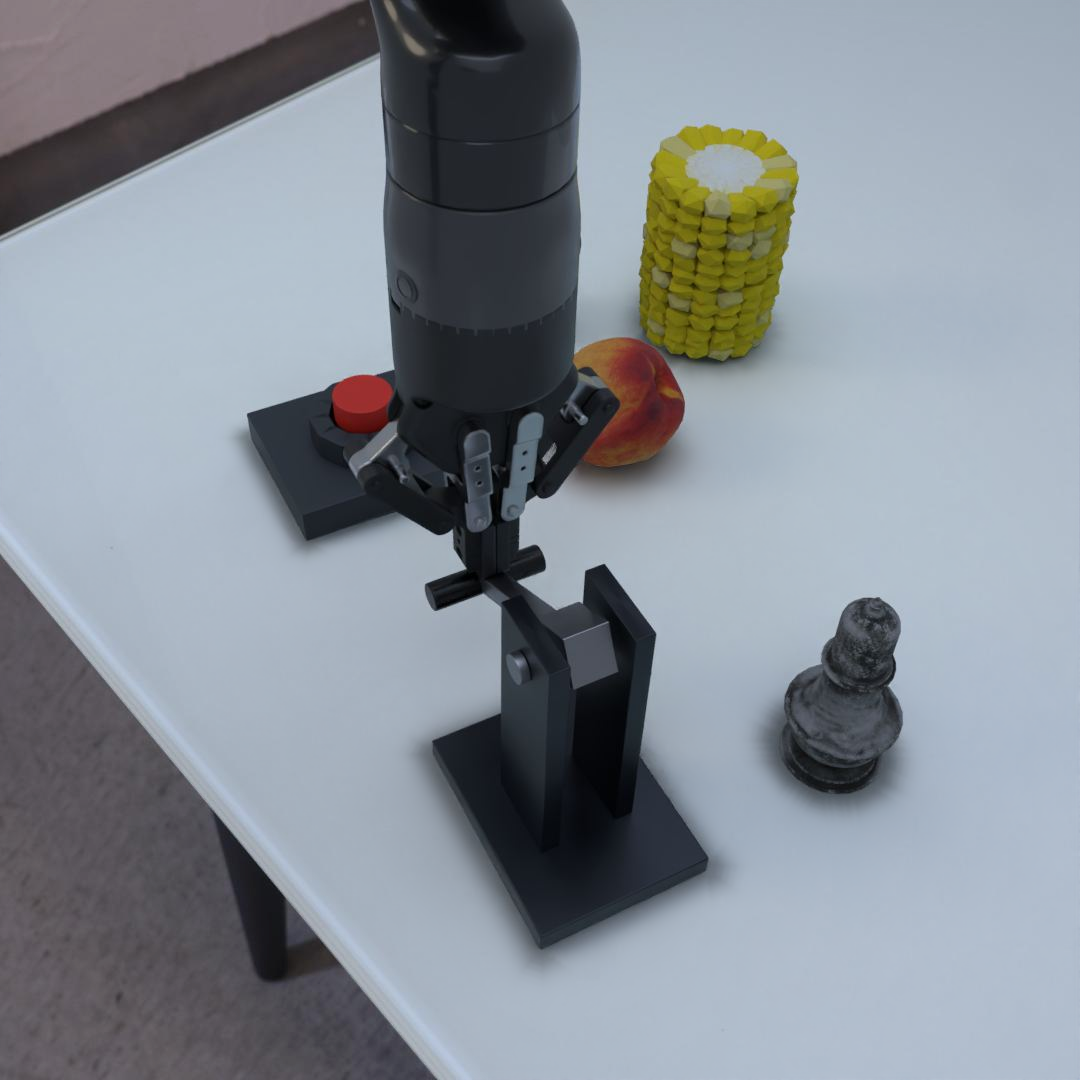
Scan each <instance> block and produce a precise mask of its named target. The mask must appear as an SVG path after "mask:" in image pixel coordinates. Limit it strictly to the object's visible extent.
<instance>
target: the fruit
mask: <svg viewBox="0 0 1080 1080" xmlns="http://www.w3.org/2000/svg"><path fill="white" fill-rule="evenodd" d="M573 363H574V364H575V366H576V368H577V370H579V369H580V368H582V367H591V368H592V369H593V370H594V371H595V372H596V373H597V375H598V376H599V377H600V378H601V379H602V380H603V382H604V383H605V384H606V385H607V386H608V388H609V389H610V390H611V391H612V392H613V393H614V395H615V396H616V397H617V398H618V399H619V401H620V407H619V410H618V411H617V412H616V414H615V415H614V416H613V418H612V419H611V420H610V422H609V423H608V424H607V426H606V427H605V428H604V430H603V431H602V432H601V434H600V435H599V436H598V438H597V439H596V440H595V442H594V443H593V444H592V446H591V447H590V448H589V450H588V451H587V452H586V453H585V455H584V456H583V457H582V459H581V460H583V461H584V462H585V463H588V464H591V465H593V466H596V467H605V468H608V467H619V466H626V465H630V464H637V463H641V462H644V461H646V460H648V459H650V458H651V457H653V456H654V455H656V454H658V453H659V452H660V451H661V450H662V449H663V448H664V447H665V446H666V445H667V444H668V442H669V441H670V440H671V439H672V438H673V437H674V435H675V434H676V432H677V431H678V430H679V428H680V426H681V424H682V423H683V421H684V416H685V411H686V401H685V396H684V394H683V393H684V392H682V389H681V387H680V384H679V383H678V381H677V379H676V377H675V375H674V373H673V371H672V369H671V367H670V366H669V365H668V363H667V361H666V360H665V358H664V356H663V355H662V354H661V353H660V352H659V351H658V349H656V348H655V347H654V346H653V345H650V344H648V343H647V342H645V341H642V340H640V339H638V338H634V337H630V336H629V337H628V336H623V337H622V336H616V337H610V338H605V339H601V340H597V341H594V342H592V343H590V344H588V345H586V346H584V347H583V348H581V349H579V350H578V351H577V352H576V353H574V359H573Z"/></svg>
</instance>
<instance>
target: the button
mask: <svg viewBox="0 0 1080 1080" xmlns="http://www.w3.org/2000/svg"><path fill="white" fill-rule="evenodd" d="M340 381H341V382H340ZM340 381H338V382H339V383H338V384H337V385H336V387H335V388H334V390H333V393H332V399H333V408H334V416H335V421H336V423H337V424H338V425H339V427H341V428H342V429H343V430H345V431H347V432H349V433H358V434H371V433H374V432H377V431H380V430H382V429H383V428H384V427H385V426H386V425H387V424H388V423H389V421H388V418H387V405H388V402H389V400H390V398H391V396H392V394H393V392H392V388H391V386H390V385H389V383H388V382H386V381H385V380H384V379H382V378H380V377H377V376H374V375H373V374H355V375H350V376H348V377H346V378H344V379H342V380H340Z"/></svg>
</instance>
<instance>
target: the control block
mask: <svg viewBox="0 0 1080 1080" xmlns="http://www.w3.org/2000/svg"><path fill="white" fill-rule="evenodd" d="M373 376H377V377H380V378H382V379H384V380H385V381H386V382H388V383H389V385H390V386H391V388H392V392H394V389H395V385H396V377H395V370H394V369H390V370H387V371H384V372H381V373H378V374H374V375H373ZM341 381H342V380H340V381H337V382H334V383H331V384H329V386H327V387H326V388H325V389H324V390H320V391H317V392H314V393H311V394H307V395H303V396H299V397H296V398H293V399H291V400H290V399H289V400H287V401H284V402H279V403H276V404H274V405H270V406H267V407H263V408H260V409H256V410H253V411H250V412H247V413H246V417H247V424H248V429H249V434H250V439H251V441H252V443H253V445H254V447H255V449H256V450H257V452H258V454H259V456H260V458H261V459H262V461H263V463H264V465H265V466H266V469H267V471H268V472H269V475H270V476H271V478H272V480H273V482H274V484H275V486H276V488H277V489H278V491H279V493H280V495H281V497H282V498H283V501H284V502H285V505H286V506H287V507H288V509H289V512H290V513H291V515H292V517H293V518H294V521H295V523H296V525H297V526H298V528H299V530H300V531H301V534H302V535H303V537H304V539H305V540H306V541H309V540H313V539H316V538H319V537H322V536H324V535H327V534H331V533H333V532H336V531H340V530H342V529H345V528H348V527H352V526H355V525H357V524H360V523H363V522H366V521H369V520H372V519H375V518H377V517H381V516H384V515H387V514H391V513H393V512H396V511H395V510H393V509H391V508H389V507H388V506H386V505H384V504H383V503H381V502H379V501H378V500H376V499H374V498H373V497H371V496H369V495H367V494H366V493H365V491H364V489H363V488H362V486H361V484H360V483H359V481H358V480H357V478H356V477H355V475H354V473H353V472H352V470H351V468H350V467H349V465H348V463H347V461H346V460H345V458H344V456H343V450H344V448H345V446H346V445H347V444H348V443H349V442H351V441H352V440H355V439H364V440H366V441H368V442H370V441H371V440H372V439H373V438H374V437H375V436H376V435H377V434H378V433H379V432H380V431H381V430H380V431H377V432H374V433H371V434H358V433H349V432H347V431H345V430H343V429H342V428H341V427H339V425H338V424H337V423H336V421H335V416H334V408H333V399H332V393H333V390H334V388H335V387H336V385H337V384H338V383H339V382H341ZM405 455H406V457H407V459H408V460H409V462H410V464H411V468H410V469H411V470H413V471H414V472H416V473H418V474H419V475H421V476H422V477H424V478H425V479H427V480H428V481H430V482H432V483H433V485H434V486H435V487H445V483H444V476H443V471H442V470H440V469H439V468H438V467H436V466H435V465H434V464H432V463H431V462H429V461H428V460H427V459H425V458H424V457H423V456H421V455H420V454H419V453H417V452H416V451H415V450H413V449H412V448H410V447H409V446H408V448H407V450H406V454H405Z"/></svg>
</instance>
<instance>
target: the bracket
mask: <svg viewBox="0 0 1080 1080" xmlns="http://www.w3.org/2000/svg"><path fill="white" fill-rule="evenodd" d="M582 604H584V605H585V606H587V607H588V608H590V609H591V610H593V611H594V612H595V613H597V614H598V615H600V616H601V617H603V618H604V619H606V620H607V621H609V624H610V630H611V635H612V640H613V645H614V650H615V656H616V661H617V666H618V672H616V673H614V674H611V675H609V676H606V677H604V678H601V679H599V680H596V681H594V682H592V683H589V684H587V685H584V686H582V687H579V688H577V689H574V690H573V689H572V688H570V676H571V667H570V665H569V664H568V662H567V661H566V659H565V658H564V657H563V655H562V654H561V652H560V651H559V649H558V648H557V646H556V645H555V643H554V642H553V640H552V639H551V637H550V636H549V634H548V633H547V631H546V630H545V628H544V627H543V625H542V624H541V622H540V621H539V619H538V618H537V616H536V615H535V613H534V612H533V610H532V609H531V607H530V606H529V604H528V603H527V601H526V600H525V598H524V597H523V595H519V596H516V597H513V598H511V599H508V600H505V601H502V602H501V607H500V618H501V619H500V713H497V714H494V715H492V716H490V717H488V718H485V719H482V720H480V721H477V722H475V723H472V724H470V725H468V726H464V727H463V728H460V729H457V730H454V731H452V732H450V733H448V734H446V735H445V734H444V735H443V736H440V737H438V738H435V739H433V740H432V741H431V744H432V755H433V757H434V758H435V760H436V762H437V764H438V765H439V767H440V770H441V771H442V773H443V775H444V777H445V779H446V780H447V782H448V784H449V786H450V788H451V789H452V791H453V793H454V795H455V796H456V797H455V798H457V800H458V803H459V804H460V806H461V808H462V810H463V811H464V813H465V815H466V817H467V819H468V821H469V822H470V824H471V826H472V828H473V829H474V831H475V833H476V835H477V837H478V838H479V841H480V842H481V844H482V845H483V848H484V849H485V851H486V854H487V855H488V857H489V859H490V860H491V862H492V865H493V866H494V867H495V869H496V872H497V874H498V875H499V878H501V881H502V883H503V885H504V886H505V888H506V889H507V892H508V893H509V895H510V898H511V899H512V900H513V902H514V904H515V906H516V908H517V910H518V911H519V913H520V915H521V917H522V919H523V921H524V923H525V924H526V926H527V927H528V930H529V932H530V933H531V935H532V937H533V939H534V940H535V942H536V944H537V946H538V949H540V950H542V949H545V948H547V947H548V946H551V945H553V944H555V943H557V942H559V941H561V940H563V939H565V938H567V937H570V936H572V935H573V934H576V933H578V932H580V931H582V930H584V929H587V928H588V927H590V926H592V925H594V924H597V923H599V922H601V921H603V920H605V919H608V918H609V917H612V916H613V915H616V914H618V913H620V912H622V911H624V910H626V909H628V908H631V907H632V906H635V905H637V904H640V903H641V902H642V901H645V900H647V899H649V898H651V897H653V896H655V895H657V894H660V893H661V892H664V891H666V890H669V889H670V888H672V887H675V886H676V885H679V884H681V883H683V882H685V881H687V880H689V879H691V878H693V877H695V876H697V875H699V874H702V873H704V872H706V871H707V868H708V863H709V859H710V858H709V856H708V855H707V853H706V852H705V850H704V849H703V847H702V845H700V843H699V841H698V840H697V838H696V837H695V835H694V834H693V832H692V831H691V829H690V828H689V827H688V825H687V823H686V822H685V821H684V820H683V818H682V816H681V814H680V813H679V812H678V810H677V809H676V807H675V806H674V805H673V803H672V801H671V800H670V798H669V797H668V795H667V794H666V792H665V791H664V789H663V788H662V787H661V785H660V783H659V782H658V781H657V779H656V777H655V776H654V774H653V773H652V772H651V770H650V768H649V767H648V766H647V764H646V763H645V761H644V760H643V758H642V757H641V750H642V744H643V737H644V729H645V721H646V713H647V707H648V700H649V692H650V685H651V677H652V670H653V662H654V656H655V648H656V641H657V632H656V630H654V628H653V627H652V625H651V624H650V623H649V621H648V620H647V618H646V617H645V616H644V615H643V613H642V612H641V610H640V609H639V608H638V607H637V605H636V604H635V602H634V601H633V600H632V598H631V597H630V595H629V594H628V593H627V591H626V590H625V589H624V588H623V586H622V585H621V584H620V582H619V581H618V580H617V578H616V577H615V575H614V574H613V573H612V572H611V570H610V569H609V567H608V566H607V564H606V563H601V564H599V565H596V566H594V567H592V568H588V569H585V570H584V579H583V593H582Z"/></svg>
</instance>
